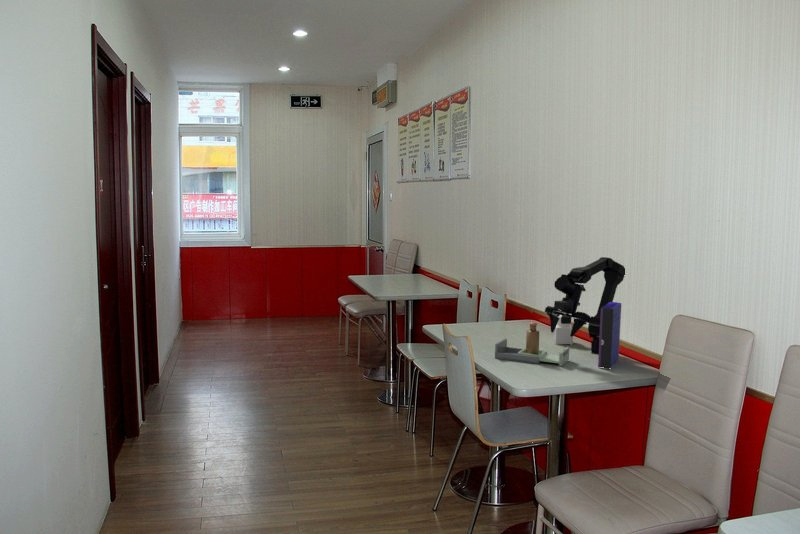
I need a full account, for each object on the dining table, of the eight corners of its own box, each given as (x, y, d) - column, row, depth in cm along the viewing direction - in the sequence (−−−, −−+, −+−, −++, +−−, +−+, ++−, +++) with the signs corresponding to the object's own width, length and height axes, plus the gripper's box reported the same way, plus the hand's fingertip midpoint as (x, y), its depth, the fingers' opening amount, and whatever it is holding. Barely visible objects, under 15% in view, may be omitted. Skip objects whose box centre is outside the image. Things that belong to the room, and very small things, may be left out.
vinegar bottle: (537, 353, 283) (538, 322, 282) (539, 356, 278) (540, 324, 277) (524, 353, 284) (525, 321, 282) (526, 356, 278) (527, 324, 277)
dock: (546, 357, 284) (547, 343, 284) (538, 363, 274) (538, 349, 273) (504, 352, 293) (505, 338, 292) (494, 358, 282) (495, 343, 281)
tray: (569, 359, 280) (570, 347, 279) (562, 365, 269) (562, 353, 269) (525, 354, 288) (525, 342, 288) (516, 359, 278) (517, 347, 278)
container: (570, 341, 317) (571, 313, 315) (572, 345, 309) (574, 316, 307) (553, 340, 317) (554, 313, 316) (555, 344, 310) (556, 316, 308)
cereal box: (606, 358, 284) (609, 301, 282) (618, 360, 282) (621, 302, 280) (598, 367, 269) (600, 307, 266) (610, 369, 267) (613, 308, 264)
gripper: (543, 288, 280) (531, 324, 278) (582, 295, 267) (571, 333, 264) (557, 297, 288) (546, 332, 285) (596, 303, 274) (585, 340, 272)
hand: (561, 334), depth 276 cm, fingers open, 9 cm apart
